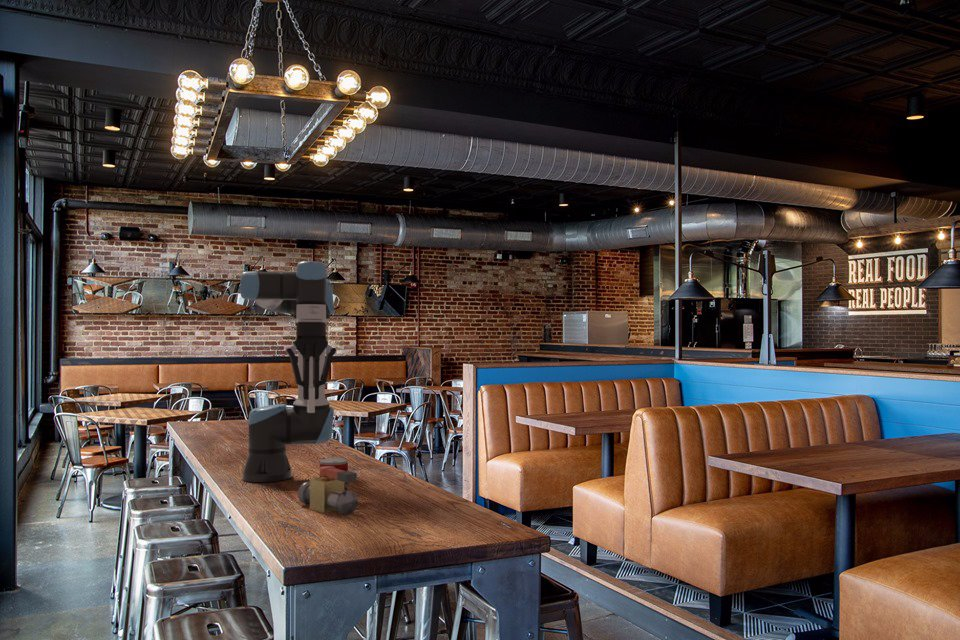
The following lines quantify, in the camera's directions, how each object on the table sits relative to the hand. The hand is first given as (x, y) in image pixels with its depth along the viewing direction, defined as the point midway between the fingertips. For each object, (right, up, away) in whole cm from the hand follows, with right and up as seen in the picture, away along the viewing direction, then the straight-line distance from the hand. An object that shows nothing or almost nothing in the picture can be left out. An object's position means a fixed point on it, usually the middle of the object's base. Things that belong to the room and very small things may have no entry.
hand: (310, 412), depth 192 cm
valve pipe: (+3, -26, +4) cm, 27 cm away
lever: (+7, -17, +1) cm, 18 cm away
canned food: (+3, -27, +16) cm, 31 cm away
